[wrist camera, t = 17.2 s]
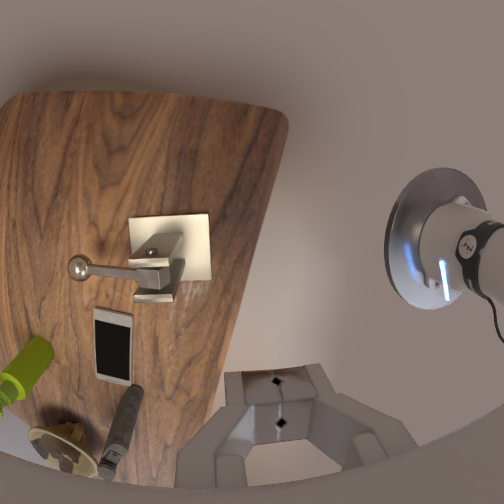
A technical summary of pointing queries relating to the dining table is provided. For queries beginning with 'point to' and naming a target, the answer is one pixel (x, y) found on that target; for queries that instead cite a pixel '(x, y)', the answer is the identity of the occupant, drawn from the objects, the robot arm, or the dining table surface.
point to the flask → (120, 432)
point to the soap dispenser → (24, 371)
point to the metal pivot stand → (170, 251)
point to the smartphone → (113, 346)
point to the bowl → (64, 448)
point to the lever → (118, 272)
